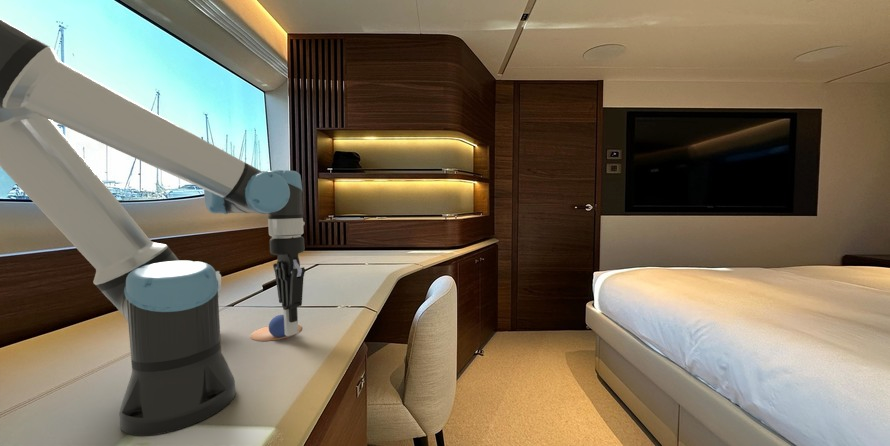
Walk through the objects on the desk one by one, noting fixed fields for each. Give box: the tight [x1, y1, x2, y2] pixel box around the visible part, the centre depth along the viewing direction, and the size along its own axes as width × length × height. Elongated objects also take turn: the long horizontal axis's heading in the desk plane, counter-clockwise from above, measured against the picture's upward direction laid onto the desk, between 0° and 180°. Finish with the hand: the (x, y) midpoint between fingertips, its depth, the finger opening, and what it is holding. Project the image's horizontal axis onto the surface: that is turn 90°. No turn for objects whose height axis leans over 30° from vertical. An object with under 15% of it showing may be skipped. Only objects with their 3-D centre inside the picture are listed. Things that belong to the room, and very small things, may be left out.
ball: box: [268, 314, 286, 338], centre depth 88 cm, size 6×6×6 cm
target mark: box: [250, 324, 302, 342], centre depth 92 cm, size 12×12×1 cm
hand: (291, 333), depth 85 cm, fingers closed
